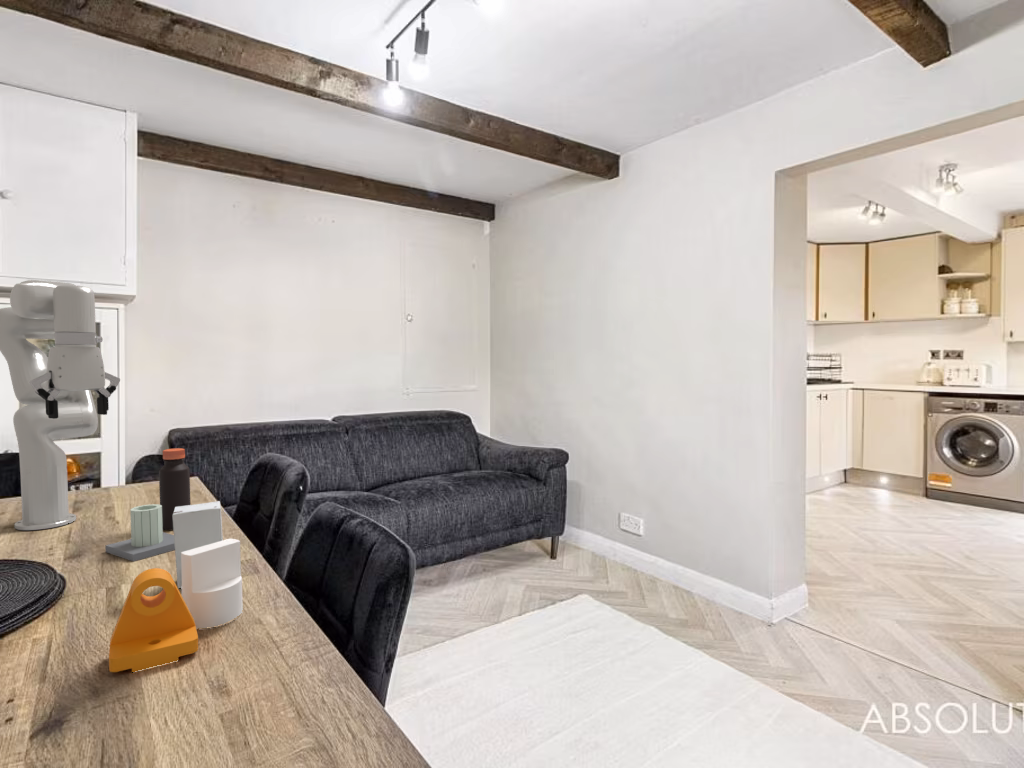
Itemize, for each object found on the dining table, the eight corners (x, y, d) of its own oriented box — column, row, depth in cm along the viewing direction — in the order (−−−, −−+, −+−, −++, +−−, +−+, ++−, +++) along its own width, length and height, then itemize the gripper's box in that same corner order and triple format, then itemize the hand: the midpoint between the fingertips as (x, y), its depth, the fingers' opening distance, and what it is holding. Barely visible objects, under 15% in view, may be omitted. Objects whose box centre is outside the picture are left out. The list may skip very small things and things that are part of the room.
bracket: (109, 679, 78) (106, 592, 78) (111, 656, 84) (108, 575, 84) (199, 657, 84) (196, 576, 84) (194, 637, 90) (192, 561, 90)
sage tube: (126, 543, 131) (125, 508, 130) (154, 536, 136) (152, 503, 136) (140, 548, 128) (139, 512, 127) (168, 540, 133) (167, 506, 132)
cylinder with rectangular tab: (201, 634, 91) (199, 559, 90) (171, 620, 96) (169, 549, 95) (253, 613, 99) (252, 543, 98) (223, 601, 103) (221, 535, 103)
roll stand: (105, 551, 130) (104, 516, 129) (160, 537, 140) (159, 504, 140) (133, 561, 124) (132, 524, 123) (189, 545, 134) (188, 511, 134)
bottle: (154, 528, 147) (152, 450, 146) (178, 521, 154) (176, 447, 153) (173, 531, 145) (170, 452, 144) (197, 524, 151) (195, 448, 150)
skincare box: (224, 572, 117) (223, 500, 117) (224, 582, 112) (222, 506, 111) (177, 579, 114) (175, 504, 113) (174, 590, 108) (172, 512, 108)
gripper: (109, 342, 140) (112, 412, 141) (21, 340, 125) (24, 418, 126) (125, 341, 136) (128, 413, 137) (36, 339, 122) (39, 420, 122)
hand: (78, 416), depth 132 cm, fingers open, 9 cm apart
